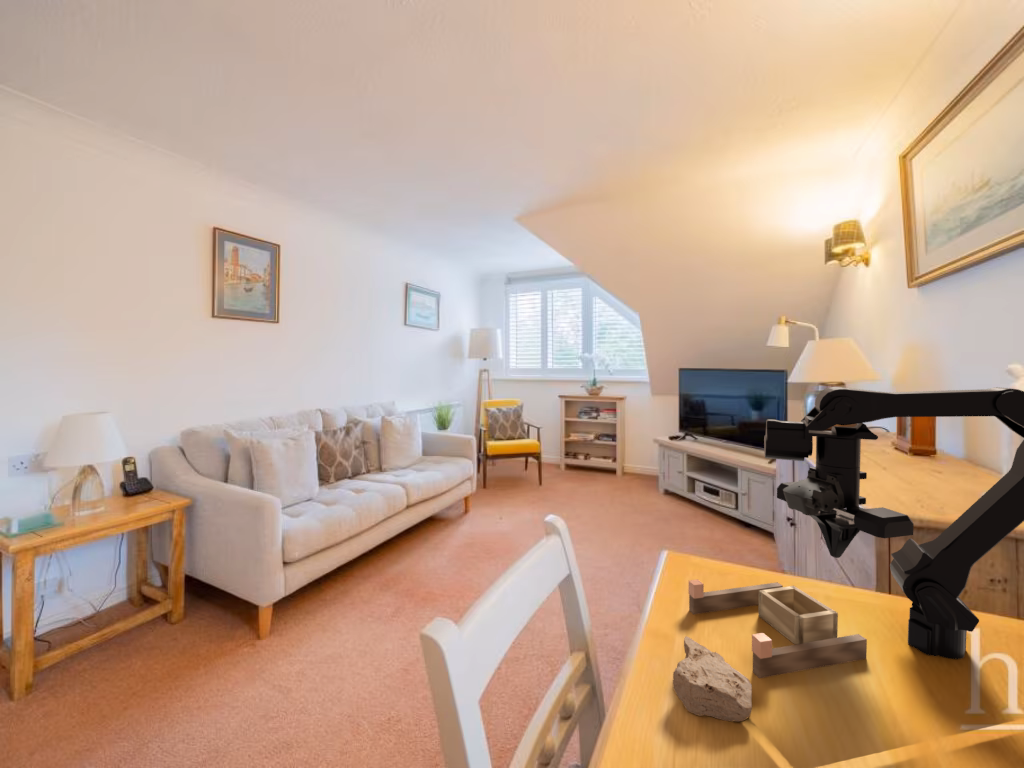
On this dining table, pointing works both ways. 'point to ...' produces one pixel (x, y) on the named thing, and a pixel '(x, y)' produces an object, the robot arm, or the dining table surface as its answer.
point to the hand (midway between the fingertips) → (835, 556)
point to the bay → (787, 652)
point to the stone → (711, 685)
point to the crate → (797, 615)
